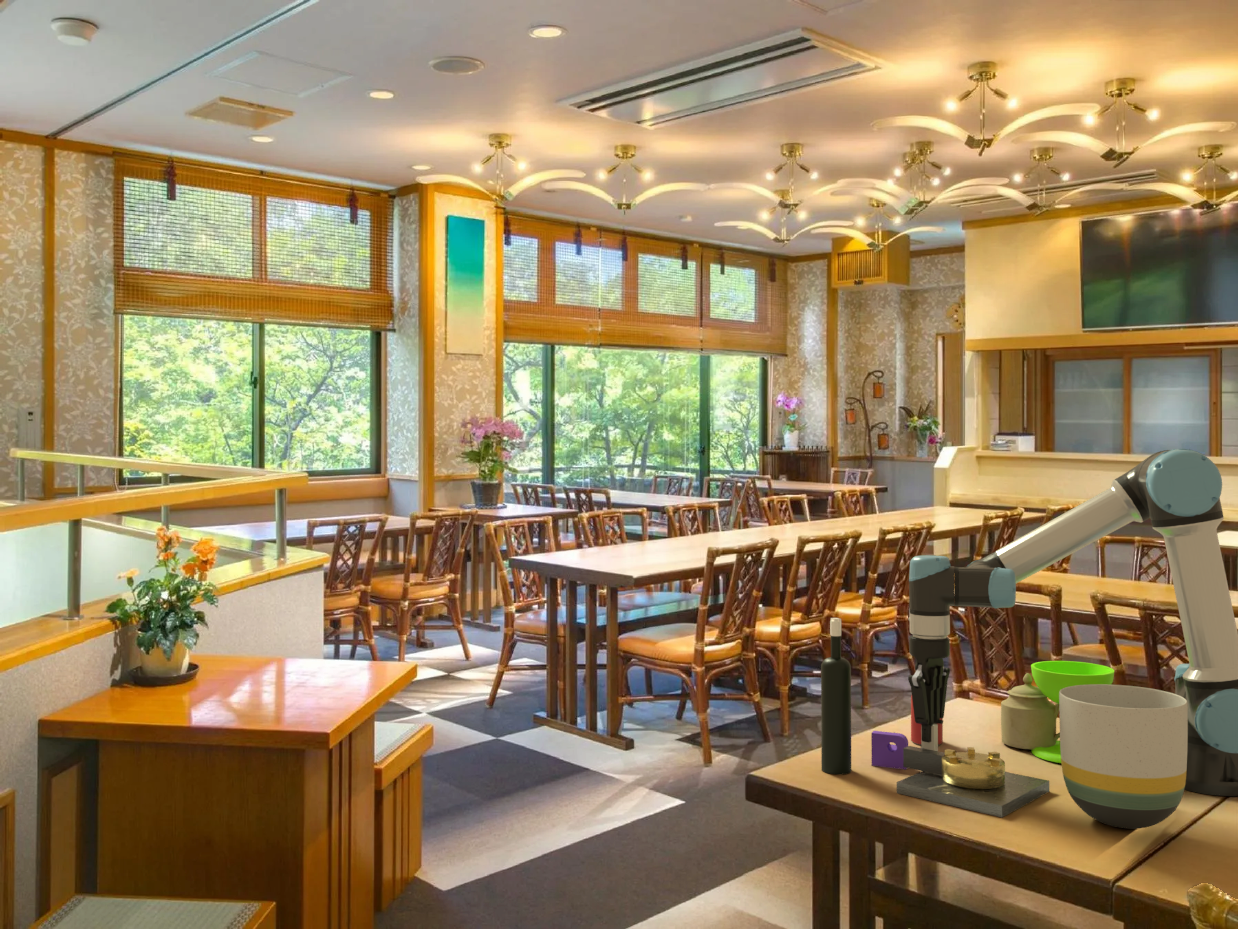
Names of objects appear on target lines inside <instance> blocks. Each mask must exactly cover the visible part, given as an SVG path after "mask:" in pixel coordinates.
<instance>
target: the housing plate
mask: <svg viewBox="0 0 1238 929" xmlns="http://www.w3.org/2000/svg"><path fill="white" fill-rule="evenodd" d="M1049 792H1050V780H1048V779H1044V778H1038V777H1033V776H1028V775H1022V774H1018V773H1014V772H1008V771H1005V784H1004V785H1003V786H1001V787H997V788H990V789H975V788H966V787H960V786H956V785H952V784H950V783H947V782H945V781H944V780H943V779H942V775H939V774H934V773H929V772H925V771H919V772H916V773H915V774H912V775H910V776H907V777H906V778H903V779H901V780H899V781H897V782H896V794H900V795H903V796H908V797H912V798H917V799H919V800H920V799H921V800H926V801H929V802H933V803H937V804H938V803H939V804H943V805H947V806H951V807H955V808H959V809H962V810H967V811H968V810H969V811H973V812H976V813H981V814H986V815H990V816H993V817H998V818H1004V817H1006V816H1007V815H1009V814H1011V813H1013V812H1015V811H1017V810H1019V809H1020V808H1022V807H1024V806H1026V805H1029V803H1031V802H1034V801H1035V800H1036V799H1038V798H1040V797H1042V796H1044V795H1047V794H1048V793H1049Z"/></svg>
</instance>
